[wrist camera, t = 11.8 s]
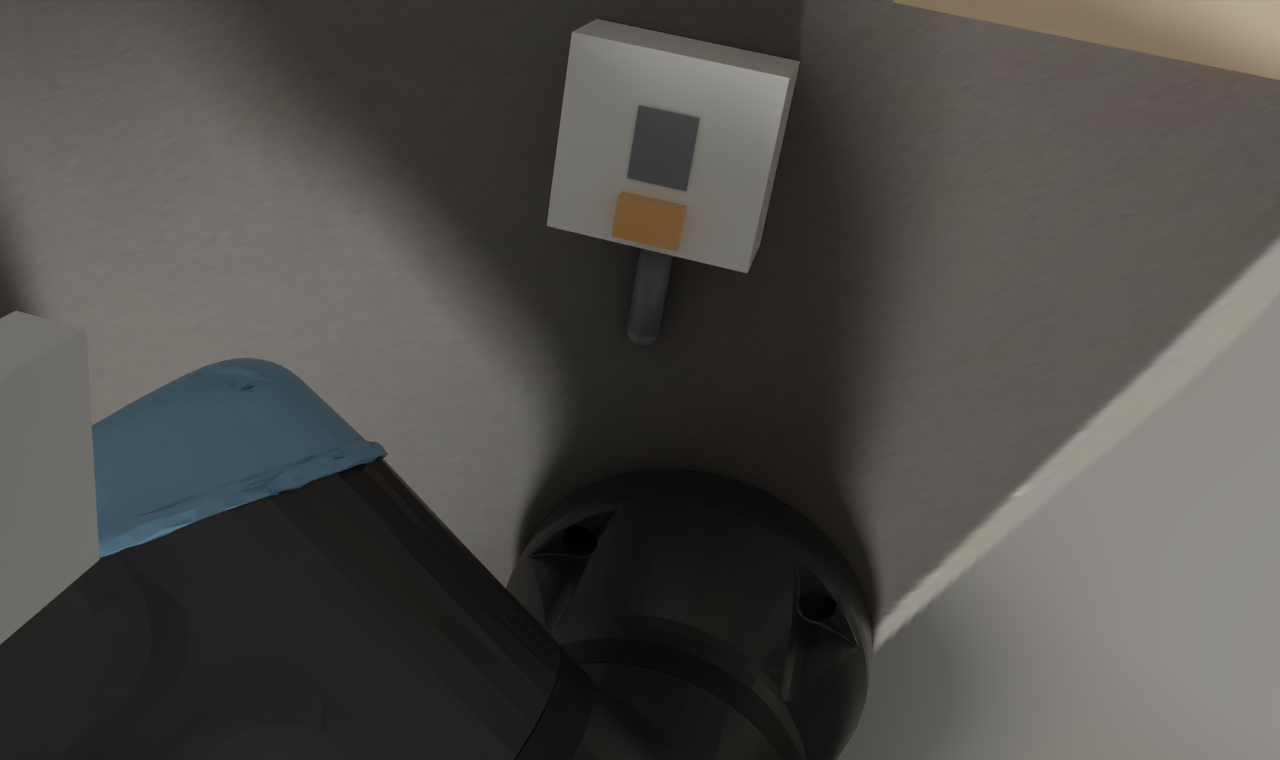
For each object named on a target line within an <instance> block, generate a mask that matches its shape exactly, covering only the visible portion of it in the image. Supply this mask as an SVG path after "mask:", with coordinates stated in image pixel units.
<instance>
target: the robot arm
mask: <svg viewBox="0 0 1280 760" xmlns="http://www.w3.org/2000/svg"><path fill="white" fill-rule="evenodd" d="M387 455H388V453H387V452H386V451H385V450H384V448H383V447H382V446H381V445H380V444H379V443H377V442H369V441H366V440H365V439H364V438H363V437H362V436H361V435H360V434H359V433H357V432H356V431H355V430H354V429H353V428H352V427H351V426H350V425H349V424H348V423H347V422H346V421H345V420H344V419H343V418H342V417H340V416H339V415H338V414H337V413H336V412H335V411H334V410H333V409H332V408H331V407H330V406H329V405H328V404H327V403H326V402H324V401H323V400H322V399H321V398H320V397H319V396H318V395H317V394H316V393H315V392H314V391H313V390H312V389H311V388H310V387H309V386H307V385H306V384H305V383H304V382H303V381H302V380H301V379H300V378H299V377H298V376H296V375H295V374H294V373H292V372H291V371H290V370H288V369H286V368H284V367H283V366H281V365H278V364H276V363H273V362H270V361H266V360H262V359H254V358H237V359H230V360H225V361H221V362H218V363H214V364H211V365H208V366H205V367H203V368H200V369H198V370H195V371H193V372H191V373H189V374H186V375H184V376H182V377H180V378H178V379H176V380H174V381H172V382H170V383H168V384H166V385H164V386H162V387H160V388H159V389H157V390H155V391H153V392H151V393H149V394H147V395H145V396H143V397H142V398H140V399H138V400H136V401H134V402H132V403H130V404H129V405H127V406H125V407H124V408H122V409H120V410H118V411H117V412H115V413H113V414H112V415H110V416H108V417H107V418H105V419H103V420H101V421H100V422H98V423H96V424H94V425H93V426H92V423H91V406H90V389H89V372H88V355H87V338H86V329H84V328H80V327H76V326H72V325H68V324H65V323H61V322H57V321H53V320H50V319H46V318H42V317H38V316H34V315H31V314H27V313H23V312H19V311H14V312H12V313H10V314H8V315H6V316H4V317H2V318H0V760H837V759H838V758H839V756H840V755H841V753H842V752H843V750H844V749H845V747H846V746H847V744H848V742H849V741H850V739H851V738H852V736H853V734H854V732H855V730H856V728H857V726H858V723H859V721H860V718H861V715H862V713H863V710H864V706H865V702H866V699H867V694H868V688H869V678H870V667H871V656H872V631H871V623H870V618H869V613H868V609H867V606H866V602H865V599H864V597H863V594H862V591H861V589H860V587H859V585H858V583H857V581H856V578H855V576H854V575H853V573H852V571H851V570H850V568H849V566H848V565H847V563H846V562H845V560H844V559H843V557H842V556H841V555H840V553H839V552H838V551H837V550H836V548H835V547H834V546H833V545H832V543H831V542H830V541H829V540H828V539H827V538H826V537H825V536H824V535H823V534H822V533H821V532H820V531H819V530H818V529H817V528H816V527H815V526H814V525H812V524H811V523H810V522H809V521H808V520H806V519H805V518H804V517H803V516H801V515H800V514H799V513H797V512H796V511H794V510H793V509H792V508H790V507H789V506H787V505H785V504H784V503H782V502H780V501H779V500H777V499H775V498H774V497H772V496H770V495H768V494H766V493H764V492H762V491H760V490H757V489H755V488H753V487H750V486H748V485H745V484H742V483H740V482H737V481H734V480H730V479H727V478H724V477H720V476H715V475H711V474H706V473H700V472H694V471H683V470H650V471H641V472H635V473H629V474H624V475H620V476H616V477H613V478H610V479H607V480H604V481H601V482H598V483H596V484H594V485H592V486H589V487H587V488H585V489H583V490H582V491H580V492H578V493H576V494H575V495H573V496H572V497H570V498H569V499H567V500H566V501H565V502H563V503H562V504H561V505H559V506H558V507H557V508H556V509H555V510H554V511H553V512H552V513H551V514H550V515H549V516H548V517H547V518H546V519H545V520H544V521H543V522H542V524H541V525H540V526H539V528H538V529H537V530H536V532H535V533H534V535H533V536H532V538H531V540H530V541H529V543H528V545H527V546H526V548H525V550H524V552H523V553H522V555H521V557H520V558H519V560H518V562H517V564H516V565H515V567H514V570H513V572H512V574H511V576H510V579H509V581H508V584H507V587H506V588H505V587H504V586H503V585H502V584H501V583H500V582H499V581H498V580H497V579H496V578H495V577H494V576H493V575H492V574H491V573H490V572H489V571H488V569H487V568H486V567H485V566H484V565H483V564H482V563H481V562H480V561H479V560H478V559H477V558H476V557H475V556H474V555H473V554H472V553H471V551H470V550H469V549H468V548H467V547H466V546H465V545H464V544H463V543H462V542H461V541H460V540H459V539H458V538H457V537H456V536H455V535H454V533H453V532H452V531H451V530H450V529H449V528H448V527H447V526H446V525H445V524H444V523H443V522H442V521H441V520H440V519H439V518H438V516H437V515H436V514H435V513H434V512H433V511H432V510H431V509H430V508H429V507H428V506H427V505H426V504H425V503H424V502H423V501H422V500H421V498H420V497H419V496H418V495H417V494H416V493H415V492H414V491H413V490H412V489H411V488H410V487H409V486H408V485H407V484H406V483H405V482H404V480H403V479H402V478H401V477H400V476H399V475H398V474H397V473H396V472H395V471H394V470H393V469H392V468H391V467H390V466H389V465H388V463H387V462H386V461H385V460H384V459H383V458H384V457H386V456H387Z"/></svg>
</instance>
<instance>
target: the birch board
mask: <svg viewBox="0 0 1280 760" xmlns="http://www.w3.org/2000/svg"><path fill="white" fill-rule="evenodd" d="M894 3H898V4H903V5H908V6H913V7H918V8H923V9H928V10H933V11H938V12H943V13H948V14H953V15H958V16H963V17H968V18H973V19H978V20H983V21H988V22H993V23H998V24H1003V25H1008V26H1013V27H1018V28H1023V29H1028V30H1033V31H1038V32H1043V33H1048V34H1053V35H1058V36H1063V37H1068V38H1073V39H1078V40H1083V41H1088V42H1093V43H1098V44H1103V45H1108V46H1113V47H1118V48H1123V49H1128V50H1133V51H1138V52H1143V53H1148V54H1153V55H1158V56H1163V57H1168V58H1173V59H1178V60H1183V61H1188V62H1193V63H1198V64H1203V65H1208V66H1213V67H1218V68H1223V69H1228V70H1233V71H1238V72H1243V73H1248V74H1253V75H1258V76H1263V77H1268V78H1273V79H1278V80H1280V0H894Z"/></svg>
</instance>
